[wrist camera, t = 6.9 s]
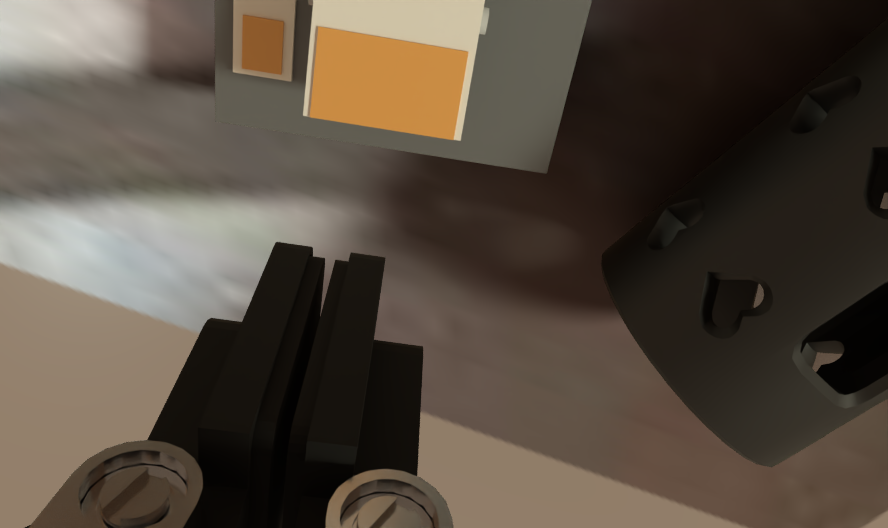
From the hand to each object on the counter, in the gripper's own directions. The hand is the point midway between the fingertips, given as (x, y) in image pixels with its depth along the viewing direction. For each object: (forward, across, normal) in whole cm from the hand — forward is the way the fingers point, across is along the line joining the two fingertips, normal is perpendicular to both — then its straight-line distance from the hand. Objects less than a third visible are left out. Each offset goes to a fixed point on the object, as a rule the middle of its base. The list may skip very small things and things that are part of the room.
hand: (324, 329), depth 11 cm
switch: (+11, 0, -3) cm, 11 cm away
